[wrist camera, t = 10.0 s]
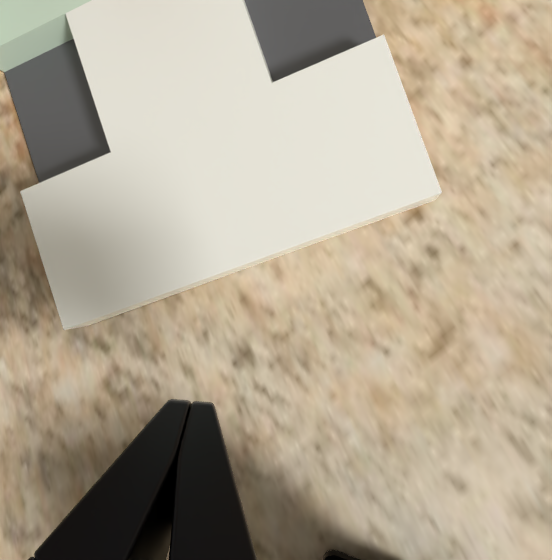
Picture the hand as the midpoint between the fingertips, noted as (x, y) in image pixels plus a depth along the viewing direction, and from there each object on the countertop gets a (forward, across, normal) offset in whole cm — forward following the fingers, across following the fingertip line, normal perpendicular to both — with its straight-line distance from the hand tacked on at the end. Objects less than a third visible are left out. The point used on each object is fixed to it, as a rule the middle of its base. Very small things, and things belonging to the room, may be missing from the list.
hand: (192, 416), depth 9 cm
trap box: (+20, +4, -5) cm, 21 cm away
